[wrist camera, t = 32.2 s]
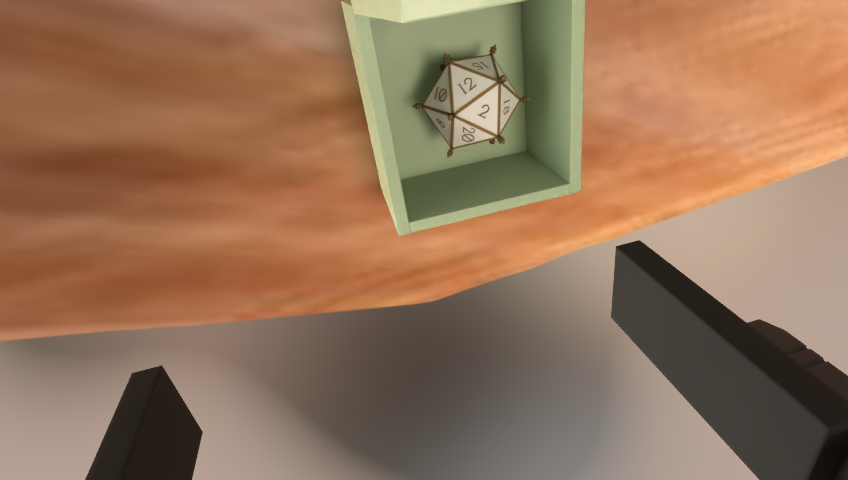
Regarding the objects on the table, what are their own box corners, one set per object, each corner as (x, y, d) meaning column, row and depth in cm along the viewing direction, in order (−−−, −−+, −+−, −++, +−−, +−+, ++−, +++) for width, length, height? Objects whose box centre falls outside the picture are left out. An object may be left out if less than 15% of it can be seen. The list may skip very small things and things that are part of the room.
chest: (532, 154, 48) (580, 191, 40) (381, 189, 47) (398, 236, 38) (525, -34, 40) (586, -38, 31) (340, 0, 38) (351, 5, 29)
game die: (463, 95, 47) (521, 168, 43) (389, 112, 43) (445, 193, 39) (495, 12, 39) (569, 91, 36) (410, 22, 36) (482, 112, 32)
